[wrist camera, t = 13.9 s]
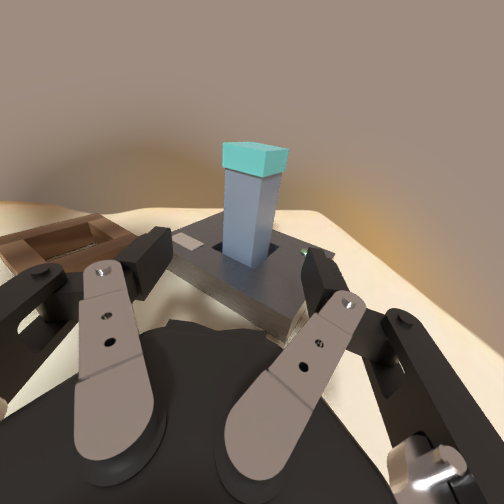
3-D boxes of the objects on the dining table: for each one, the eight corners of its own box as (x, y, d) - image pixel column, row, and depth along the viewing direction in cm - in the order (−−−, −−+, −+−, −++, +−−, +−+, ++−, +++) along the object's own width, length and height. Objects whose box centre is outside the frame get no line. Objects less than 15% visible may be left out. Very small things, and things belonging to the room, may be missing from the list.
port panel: (154, 261, 26) (150, 238, 24) (223, 227, 35) (224, 209, 34) (285, 342, 18) (292, 318, 17) (328, 272, 28) (336, 252, 26)
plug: (219, 268, 26) (223, 142, 18) (240, 254, 29) (250, 141, 22) (248, 284, 24) (266, 151, 17) (267, 266, 27) (289, 148, 20)
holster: (4, 263, 23) (-12, 239, 21) (103, 232, 30) (97, 213, 28) (42, 308, 19) (25, 282, 17) (146, 259, 26) (141, 238, 24)
